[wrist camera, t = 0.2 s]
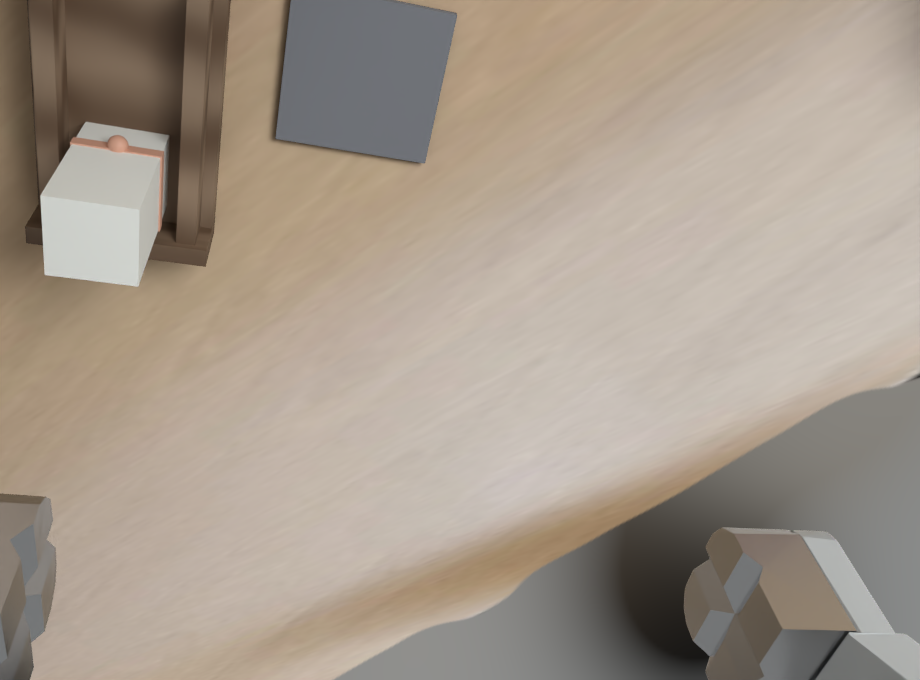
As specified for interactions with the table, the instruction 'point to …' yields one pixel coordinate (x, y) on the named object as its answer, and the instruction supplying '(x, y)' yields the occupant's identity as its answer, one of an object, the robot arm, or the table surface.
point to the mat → (364, 75)
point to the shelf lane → (136, 97)
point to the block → (105, 204)
